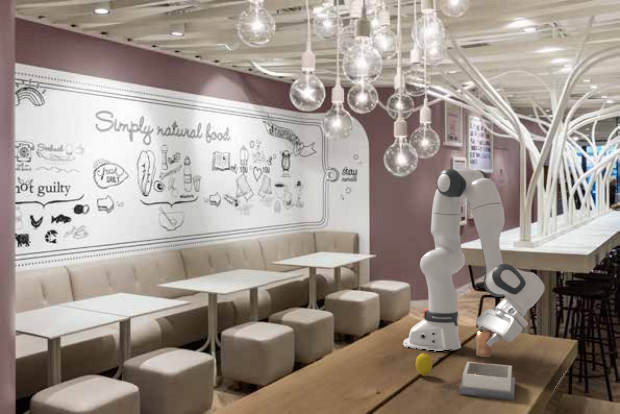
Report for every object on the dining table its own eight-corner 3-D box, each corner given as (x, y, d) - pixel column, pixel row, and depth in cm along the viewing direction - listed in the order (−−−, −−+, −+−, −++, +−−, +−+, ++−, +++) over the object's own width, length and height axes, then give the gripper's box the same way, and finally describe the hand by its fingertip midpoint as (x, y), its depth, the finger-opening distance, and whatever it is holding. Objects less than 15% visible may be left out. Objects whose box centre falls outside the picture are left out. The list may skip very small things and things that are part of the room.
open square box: (459, 394, 188) (459, 374, 188) (464, 378, 203) (464, 360, 203) (513, 400, 183) (514, 380, 183) (514, 383, 198) (515, 365, 198)
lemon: (433, 374, 208) (433, 351, 207) (430, 379, 202) (431, 355, 202) (416, 372, 209) (417, 349, 209) (414, 377, 204) (414, 354, 204)
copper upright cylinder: (486, 352, 214) (487, 323, 213) (494, 356, 209) (494, 327, 208) (473, 353, 213) (474, 324, 212) (480, 357, 208) (481, 328, 207)
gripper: (487, 300, 222) (462, 328, 220) (519, 313, 202) (491, 344, 200) (498, 312, 223) (473, 340, 221) (531, 325, 203) (503, 356, 201)
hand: (482, 342), depth 210 cm, fingers closed on copper upright cylinder, 5 cm apart
